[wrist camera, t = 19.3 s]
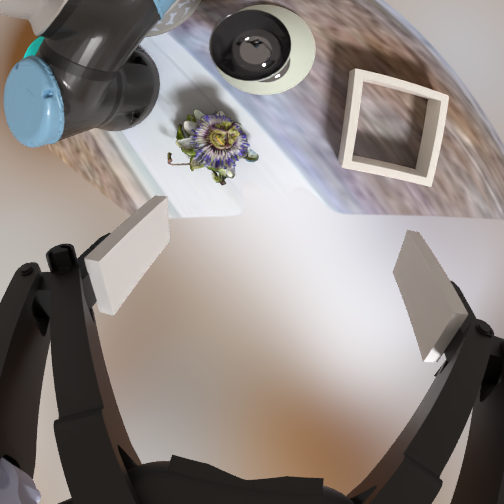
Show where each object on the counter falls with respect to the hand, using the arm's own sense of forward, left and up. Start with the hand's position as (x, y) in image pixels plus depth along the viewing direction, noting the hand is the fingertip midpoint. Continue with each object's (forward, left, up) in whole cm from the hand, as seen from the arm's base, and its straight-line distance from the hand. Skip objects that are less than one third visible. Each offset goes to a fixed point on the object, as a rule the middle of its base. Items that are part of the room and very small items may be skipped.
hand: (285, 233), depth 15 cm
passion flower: (-12, -2, -32) cm, 34 cm away
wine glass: (-6, +12, -31) cm, 33 cm away
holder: (+14, +5, -32) cm, 35 cm away
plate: (-6, +14, -32) cm, 35 cm away
